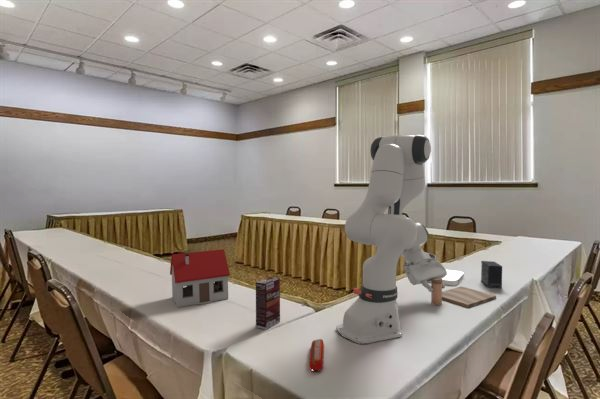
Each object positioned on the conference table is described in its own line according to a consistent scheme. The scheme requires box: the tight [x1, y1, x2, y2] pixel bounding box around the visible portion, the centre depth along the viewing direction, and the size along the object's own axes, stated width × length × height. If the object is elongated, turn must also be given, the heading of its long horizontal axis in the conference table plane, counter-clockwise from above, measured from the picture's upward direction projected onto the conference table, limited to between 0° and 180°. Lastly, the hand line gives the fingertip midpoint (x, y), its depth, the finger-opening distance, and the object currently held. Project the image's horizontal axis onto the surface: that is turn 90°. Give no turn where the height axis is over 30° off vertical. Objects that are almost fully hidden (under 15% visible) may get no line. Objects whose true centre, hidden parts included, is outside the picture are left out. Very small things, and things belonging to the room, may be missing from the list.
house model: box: [169, 248, 231, 308], centre depth 149 cm, size 25×20×21 cm
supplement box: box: [255, 276, 281, 331], centre depth 120 cm, size 9×5×16 cm, turn 148°
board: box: [442, 286, 497, 308], centre depth 145 cm, size 20×16×1 cm
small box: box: [480, 260, 503, 289], centre depth 163 cm, size 11×6×10 cm, turn 168°
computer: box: [428, 268, 465, 286], centre depth 177 cm, size 22×22×3 cm
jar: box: [430, 278, 443, 306], centre depth 139 cm, size 4×4×10 cm
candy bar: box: [309, 338, 325, 371], centre depth 96 cm, size 16×4×3 cm, turn 175°
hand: (437, 289), depth 138 cm, fingers open, 5 cm apart
